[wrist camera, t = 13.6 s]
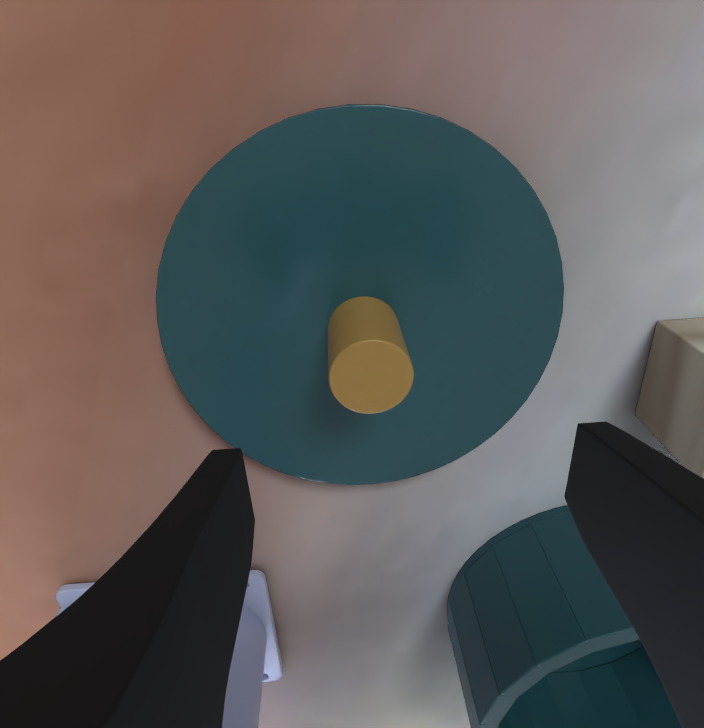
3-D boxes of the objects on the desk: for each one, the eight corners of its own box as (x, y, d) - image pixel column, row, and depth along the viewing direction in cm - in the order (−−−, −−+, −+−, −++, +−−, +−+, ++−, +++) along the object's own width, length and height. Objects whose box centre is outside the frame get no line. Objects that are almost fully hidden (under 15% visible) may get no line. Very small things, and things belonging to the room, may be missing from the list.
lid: (316, 516, 23) (315, 606, 19) (77, 269, 17) (4, 323, 13) (607, 357, 20) (679, 424, 16) (432, -5, 14) (474, -41, 10)
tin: (442, 682, 29) (469, 814, 24) (451, 511, 23) (489, 637, 18) (668, 664, 29) (744, 790, 24) (734, 490, 23) (854, 607, 18)
